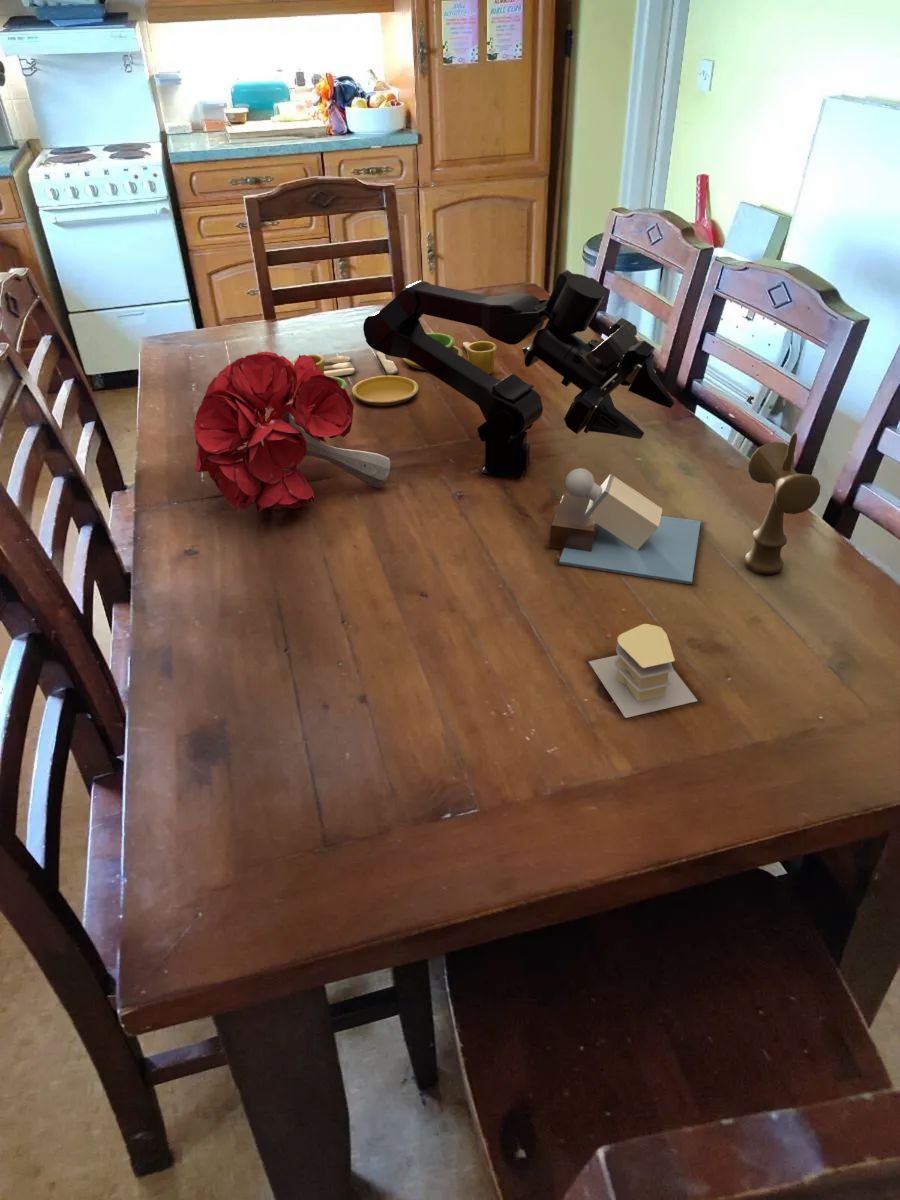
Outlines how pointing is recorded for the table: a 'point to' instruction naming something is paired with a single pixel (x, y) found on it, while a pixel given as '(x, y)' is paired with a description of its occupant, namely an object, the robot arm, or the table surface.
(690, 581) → the placemat
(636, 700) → the stacked layers on plate
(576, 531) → the walnut block
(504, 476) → the robot arm
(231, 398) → the bouquet
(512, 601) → the table surface
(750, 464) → the kendama
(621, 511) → the salt mill
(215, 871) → the table surface
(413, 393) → the tableware set
